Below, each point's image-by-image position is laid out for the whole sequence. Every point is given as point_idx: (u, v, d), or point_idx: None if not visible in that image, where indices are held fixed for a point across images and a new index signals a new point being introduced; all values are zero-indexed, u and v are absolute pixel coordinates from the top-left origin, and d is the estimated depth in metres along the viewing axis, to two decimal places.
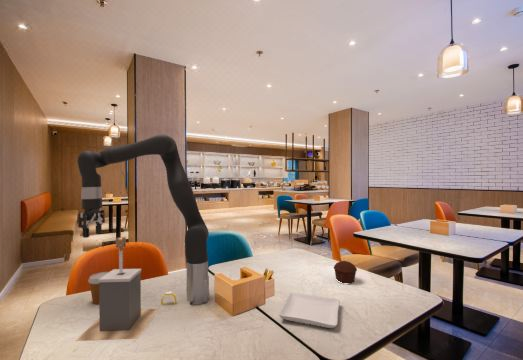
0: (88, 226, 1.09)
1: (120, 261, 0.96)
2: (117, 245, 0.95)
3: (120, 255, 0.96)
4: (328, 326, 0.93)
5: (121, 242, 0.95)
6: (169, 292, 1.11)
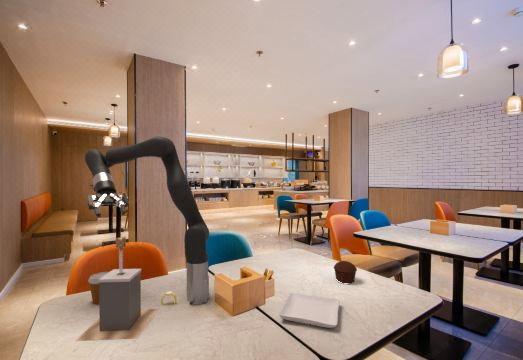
0: (96, 204, 1.03)
1: (120, 261, 0.96)
2: (117, 245, 0.95)
3: (120, 255, 0.96)
4: (328, 326, 0.93)
5: (121, 242, 0.95)
6: (169, 292, 1.11)
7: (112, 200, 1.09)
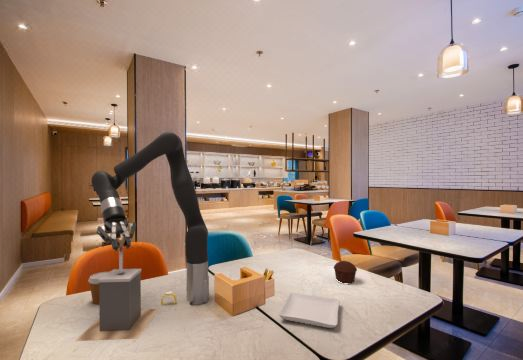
0: (113, 237, 0.95)
1: (120, 261, 0.96)
2: None
3: (120, 255, 0.96)
4: (328, 326, 0.93)
5: (121, 242, 0.95)
6: (169, 292, 1.11)
7: (119, 228, 0.99)
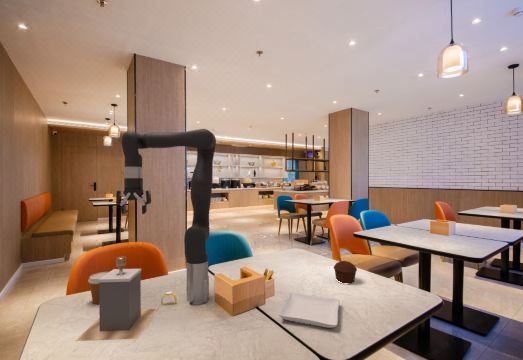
0: (121, 204, 1.16)
1: None
2: (117, 265, 0.95)
3: None
4: (328, 326, 0.93)
5: (122, 261, 0.95)
6: (169, 292, 1.11)
7: (135, 199, 1.16)
